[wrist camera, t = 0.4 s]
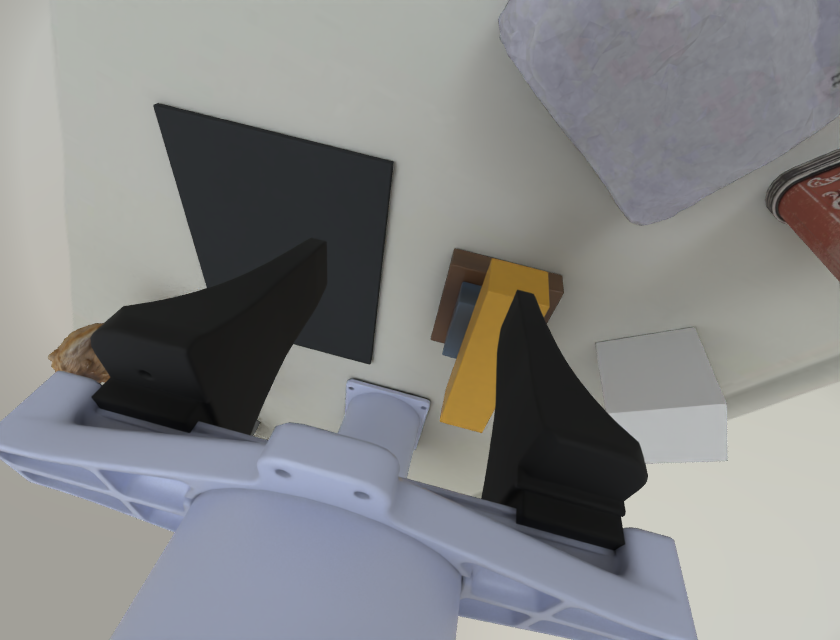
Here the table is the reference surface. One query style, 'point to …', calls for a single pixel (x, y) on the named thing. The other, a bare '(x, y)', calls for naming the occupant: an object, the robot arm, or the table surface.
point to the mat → (284, 215)
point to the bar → (487, 344)
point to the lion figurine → (79, 355)
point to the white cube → (665, 396)
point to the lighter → (812, 206)
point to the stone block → (678, 87)
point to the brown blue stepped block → (471, 298)
